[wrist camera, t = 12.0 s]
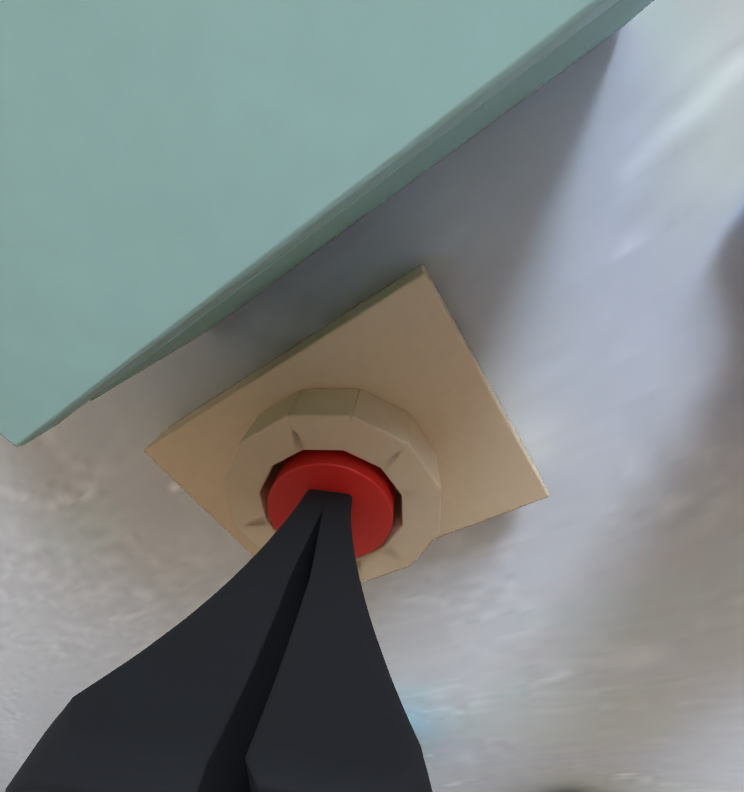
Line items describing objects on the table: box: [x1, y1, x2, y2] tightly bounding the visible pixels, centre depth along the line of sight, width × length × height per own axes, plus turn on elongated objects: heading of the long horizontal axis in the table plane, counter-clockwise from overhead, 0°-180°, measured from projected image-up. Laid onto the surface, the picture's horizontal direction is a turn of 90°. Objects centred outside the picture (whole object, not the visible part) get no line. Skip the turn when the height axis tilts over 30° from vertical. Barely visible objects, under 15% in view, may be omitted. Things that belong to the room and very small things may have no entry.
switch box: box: [144, 265, 549, 581], centre depth 13 cm, size 9×12×4 cm
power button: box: [268, 450, 395, 557], centre depth 12 cm, size 4×4×2 cm
